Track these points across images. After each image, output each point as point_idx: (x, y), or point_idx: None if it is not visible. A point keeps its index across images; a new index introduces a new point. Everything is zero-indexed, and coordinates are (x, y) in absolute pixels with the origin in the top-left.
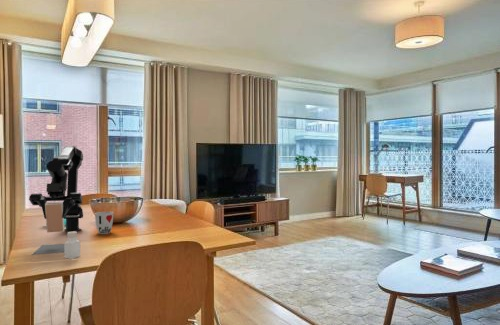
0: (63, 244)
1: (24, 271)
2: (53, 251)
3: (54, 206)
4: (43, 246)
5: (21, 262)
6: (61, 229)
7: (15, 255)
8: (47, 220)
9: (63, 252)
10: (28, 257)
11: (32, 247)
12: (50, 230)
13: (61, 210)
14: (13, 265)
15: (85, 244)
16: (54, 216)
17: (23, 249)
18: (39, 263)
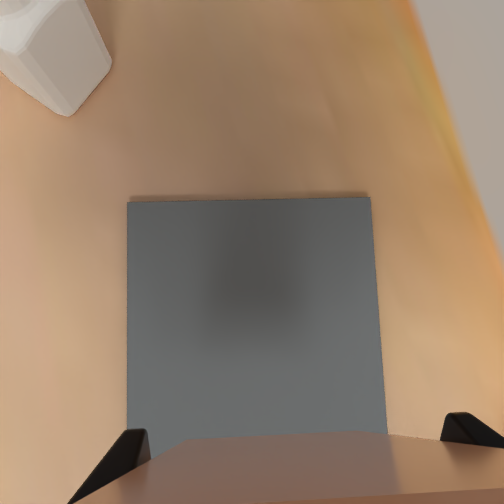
0: None
1: None
2: (235, 251)
3: (335, 483)
4: None
5: (372, 53)
6: (200, 440)
7: (483, 236)
8: (403, 440)
9: (151, 202)
10: (372, 161)
11: None
12: (328, 432)
13: (126, 475)
14: (395, 2)
15: (24, 473)
16: (298, 448)
17: (498, 406)
18: (251, 3)
